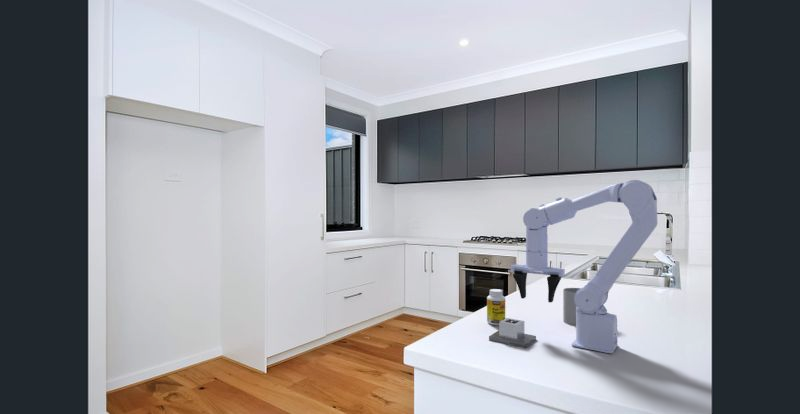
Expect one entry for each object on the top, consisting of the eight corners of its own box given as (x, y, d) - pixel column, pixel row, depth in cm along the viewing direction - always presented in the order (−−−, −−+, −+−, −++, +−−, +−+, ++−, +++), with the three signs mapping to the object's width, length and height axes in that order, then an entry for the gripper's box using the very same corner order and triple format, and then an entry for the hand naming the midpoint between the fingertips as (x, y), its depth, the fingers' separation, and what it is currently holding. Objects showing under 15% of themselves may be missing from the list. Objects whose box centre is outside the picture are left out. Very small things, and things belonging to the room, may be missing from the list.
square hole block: (524, 335, 107) (524, 321, 107) (517, 340, 103) (517, 325, 103) (507, 332, 110) (506, 317, 110) (499, 336, 106) (499, 321, 106)
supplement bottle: (490, 326, 119) (490, 292, 120) (484, 321, 125) (484, 288, 125) (508, 325, 120) (508, 291, 120) (501, 320, 126) (501, 288, 126)
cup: (597, 326, 119) (597, 293, 119) (570, 326, 119) (570, 293, 119) (585, 318, 127) (585, 287, 127) (559, 318, 127) (559, 287, 127)
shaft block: (536, 339, 107) (535, 321, 107) (525, 347, 101) (525, 328, 101) (501, 332, 113) (500, 315, 113) (488, 340, 107) (488, 321, 107)
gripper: (506, 250, 112) (506, 298, 112) (559, 254, 103) (559, 306, 103) (515, 248, 118) (515, 294, 118) (566, 252, 109) (566, 301, 109)
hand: (536, 299), depth 111 cm, fingers open, 7 cm apart
